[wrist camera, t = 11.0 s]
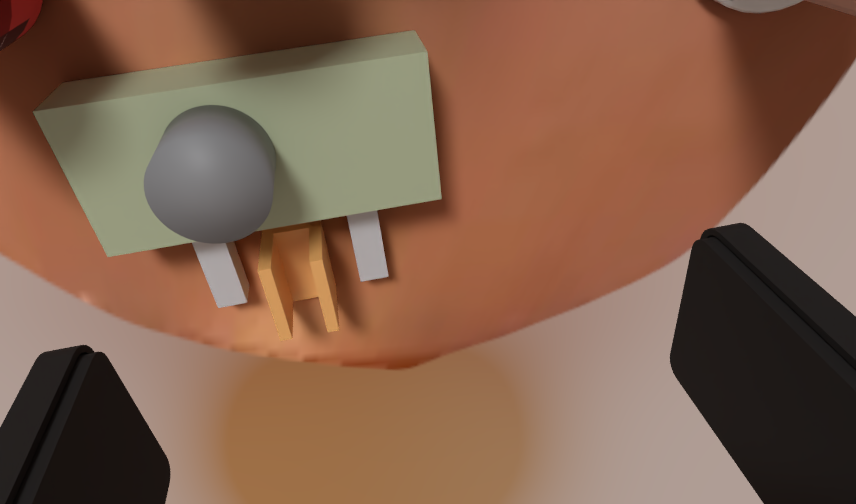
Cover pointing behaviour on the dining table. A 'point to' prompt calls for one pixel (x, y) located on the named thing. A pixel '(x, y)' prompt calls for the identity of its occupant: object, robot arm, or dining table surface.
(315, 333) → the dining table surface
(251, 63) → the green plate with pegs
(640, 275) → the dining table surface
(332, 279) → the chute
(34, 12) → the canned food
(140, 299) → the dining table surface
